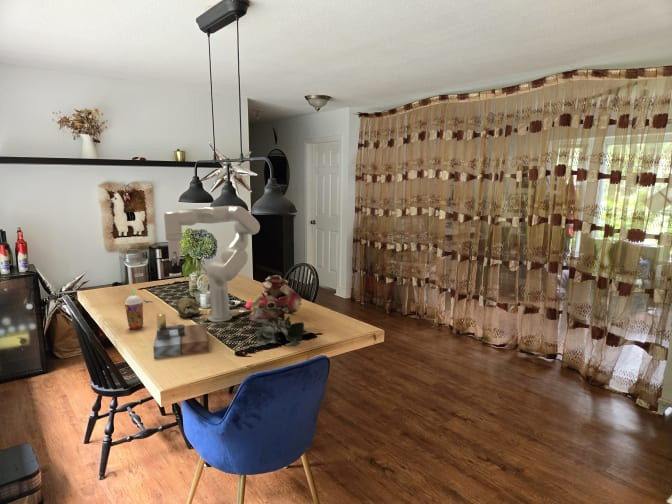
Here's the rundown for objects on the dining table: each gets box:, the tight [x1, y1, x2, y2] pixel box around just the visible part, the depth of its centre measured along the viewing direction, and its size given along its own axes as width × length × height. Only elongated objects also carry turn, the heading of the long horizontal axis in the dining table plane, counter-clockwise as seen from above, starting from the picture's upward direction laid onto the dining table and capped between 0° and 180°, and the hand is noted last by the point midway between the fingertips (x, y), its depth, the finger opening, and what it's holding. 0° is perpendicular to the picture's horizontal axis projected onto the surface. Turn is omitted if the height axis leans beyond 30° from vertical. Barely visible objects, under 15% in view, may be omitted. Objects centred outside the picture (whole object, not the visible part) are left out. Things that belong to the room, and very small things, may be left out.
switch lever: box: [156, 313, 186, 330], centre depth 189 cm, size 11×4×7 cm, turn 107°
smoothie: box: [124, 289, 144, 330], centre depth 214 cm, size 8×8×20 cm
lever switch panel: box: [152, 323, 209, 359], centre depth 191 cm, size 22×24×9 cm
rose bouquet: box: [248, 274, 305, 347], centre depth 200 cm, size 26×29×30 cm
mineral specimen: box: [175, 297, 201, 318], centre depth 234 cm, size 14×13×10 cm
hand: (176, 271), depth 206 cm, fingers open, 9 cm apart
